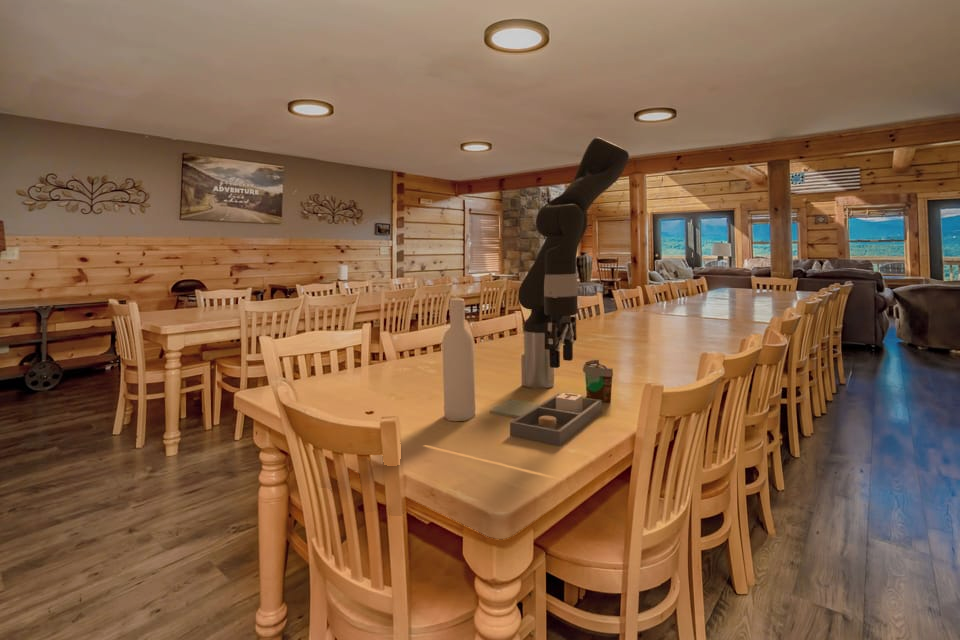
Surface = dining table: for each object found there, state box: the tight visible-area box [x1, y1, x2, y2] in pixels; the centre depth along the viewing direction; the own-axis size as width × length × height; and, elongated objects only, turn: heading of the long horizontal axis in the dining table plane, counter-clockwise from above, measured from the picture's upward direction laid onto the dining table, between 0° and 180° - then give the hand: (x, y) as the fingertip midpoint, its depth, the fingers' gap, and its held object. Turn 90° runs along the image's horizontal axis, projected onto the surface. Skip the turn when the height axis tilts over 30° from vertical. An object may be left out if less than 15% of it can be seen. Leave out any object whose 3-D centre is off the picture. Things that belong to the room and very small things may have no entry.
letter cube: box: [556, 392, 584, 413], centre depth 122 cm, size 5×5×5 cm
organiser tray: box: [509, 393, 603, 447], centre depth 117 cm, size 12×26×4 cm, turn 147°
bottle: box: [442, 297, 476, 422], centre depth 122 cm, size 8×8×30 cm
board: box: [489, 399, 541, 419], centre depth 127 cm, size 11×11×1 cm
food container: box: [582, 359, 614, 404], centre depth 136 cm, size 12×6×10 cm, turn 5°
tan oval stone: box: [539, 416, 556, 430], centre depth 112 cm, size 4×4×3 cm
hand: (561, 363), depth 114 cm, fingers open, 8 cm apart
